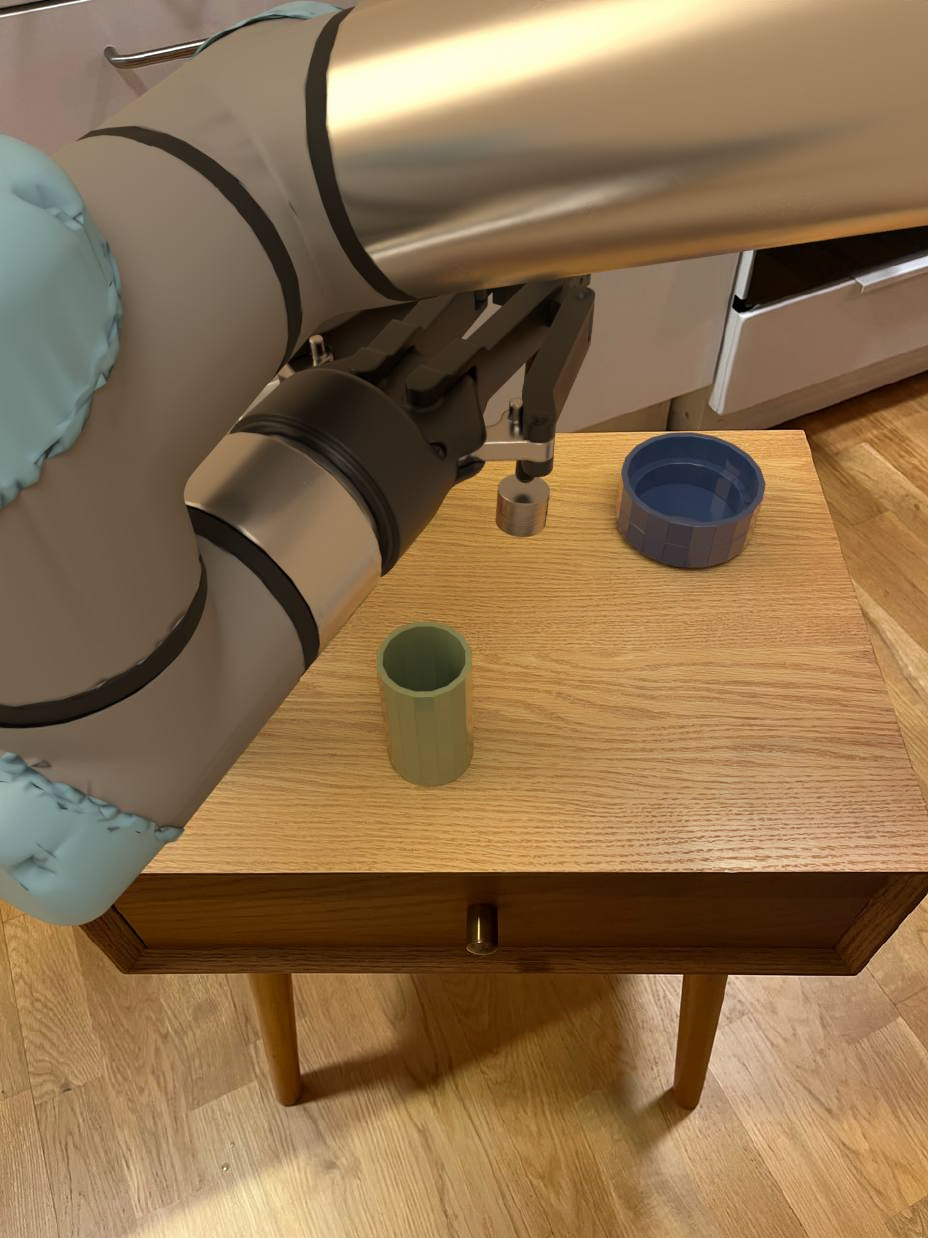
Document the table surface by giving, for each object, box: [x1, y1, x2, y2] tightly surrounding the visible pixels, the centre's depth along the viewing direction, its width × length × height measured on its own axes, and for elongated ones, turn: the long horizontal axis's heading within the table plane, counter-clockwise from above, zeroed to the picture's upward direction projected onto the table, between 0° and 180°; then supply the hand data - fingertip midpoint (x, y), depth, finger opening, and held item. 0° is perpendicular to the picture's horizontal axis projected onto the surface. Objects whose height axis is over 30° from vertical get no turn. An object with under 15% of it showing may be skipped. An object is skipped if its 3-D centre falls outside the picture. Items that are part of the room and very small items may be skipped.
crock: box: [375, 620, 474, 788], centre depth 60 cm, size 6×6×10 cm
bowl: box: [614, 431, 766, 569], centre depth 75 cm, size 11×11×5 cm
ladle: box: [494, 350, 551, 538], centre depth 49 cm, size 3×3×23 cm
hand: (577, 221), depth 47 cm, fingers closed on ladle, 1 cm apart
